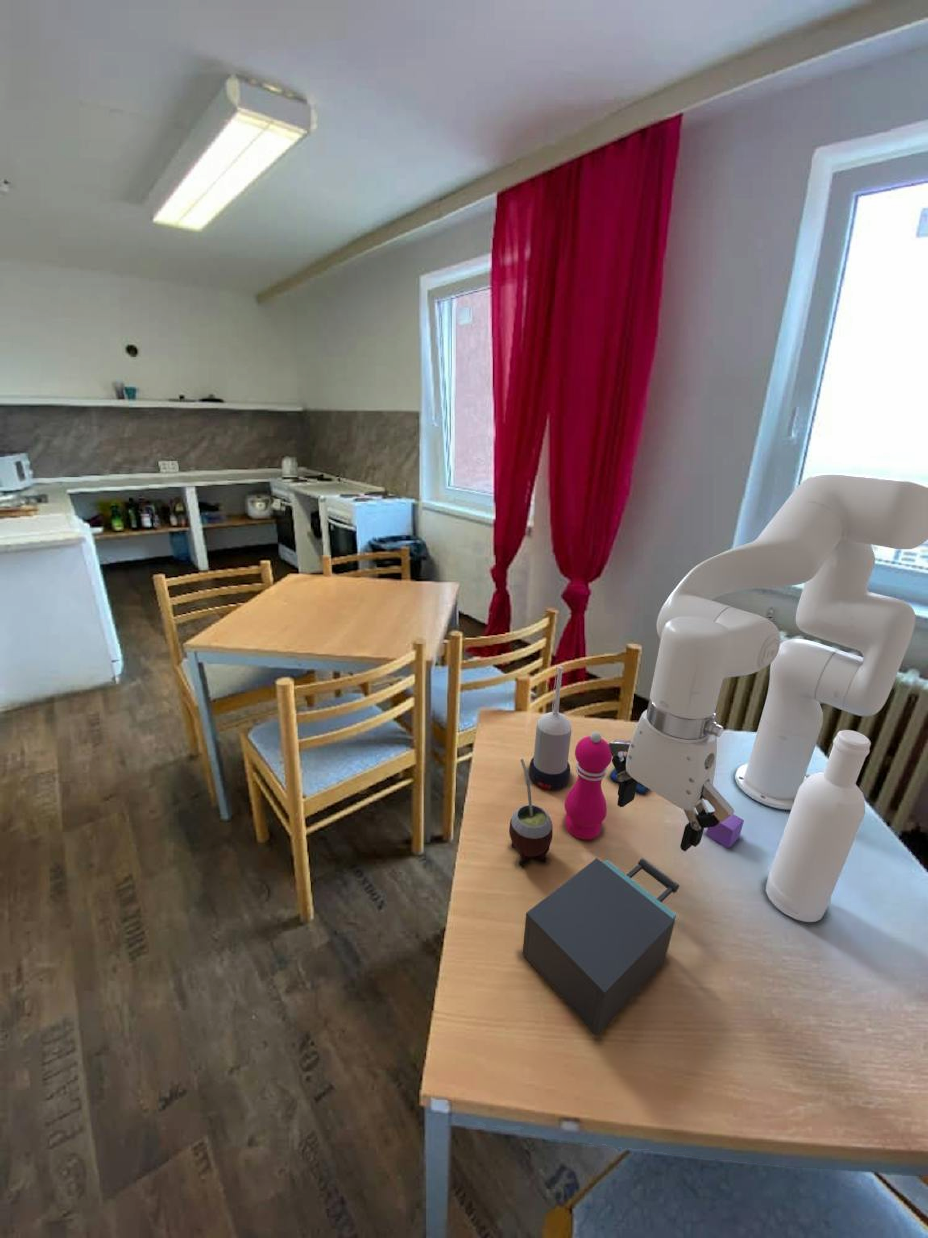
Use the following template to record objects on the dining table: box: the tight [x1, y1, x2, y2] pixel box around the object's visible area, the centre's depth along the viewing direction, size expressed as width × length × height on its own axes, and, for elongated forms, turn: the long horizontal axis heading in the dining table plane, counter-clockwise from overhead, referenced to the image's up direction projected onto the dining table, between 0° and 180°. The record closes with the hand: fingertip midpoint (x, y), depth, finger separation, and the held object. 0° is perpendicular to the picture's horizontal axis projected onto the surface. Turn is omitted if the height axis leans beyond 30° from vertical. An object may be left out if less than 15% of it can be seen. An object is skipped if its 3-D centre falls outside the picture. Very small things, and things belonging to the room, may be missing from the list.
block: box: [705, 813, 745, 849], centre depth 90 cm, size 4×4×4 cm
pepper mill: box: [564, 731, 613, 841], centre depth 89 cm, size 7×7×20 cm
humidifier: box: [528, 665, 572, 791], centre depth 100 cm, size 8×8×25 cm
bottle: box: [765, 729, 872, 923], centre depth 74 cm, size 8×8×30 cm
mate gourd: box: [508, 758, 554, 867], centre depth 84 cm, size 8×8×15 cm
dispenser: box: [521, 857, 676, 1037], centre depth 69 cm, size 15×13×8 cm
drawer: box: [602, 857, 680, 936], centre depth 72 cm, size 19×11×6 cm, turn 129°
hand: (655, 823), depth 71 cm, fingers open, 9 cm apart
